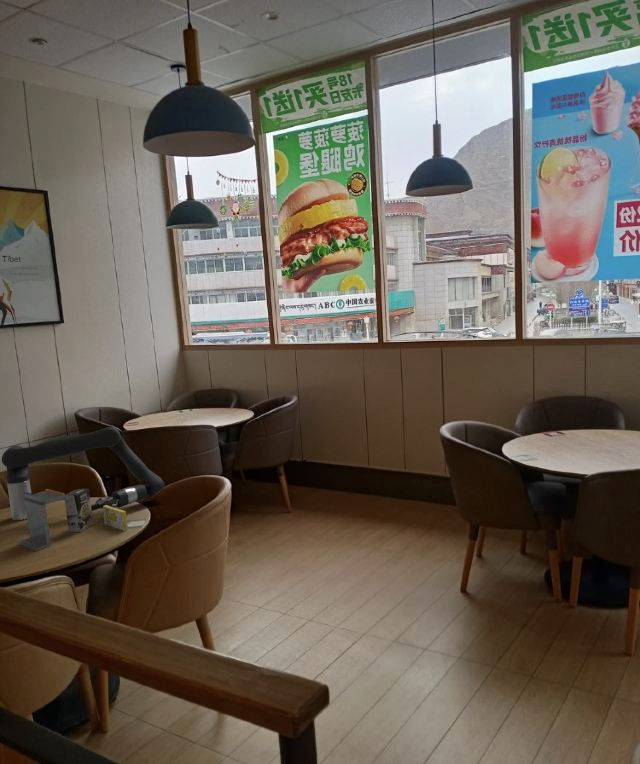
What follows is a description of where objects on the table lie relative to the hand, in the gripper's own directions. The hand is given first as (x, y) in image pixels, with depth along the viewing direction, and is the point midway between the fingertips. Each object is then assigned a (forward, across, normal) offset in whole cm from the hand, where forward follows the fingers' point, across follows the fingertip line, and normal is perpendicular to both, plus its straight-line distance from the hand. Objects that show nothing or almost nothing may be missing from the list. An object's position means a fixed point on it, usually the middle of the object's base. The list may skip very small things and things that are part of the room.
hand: (90, 508), depth 267 cm
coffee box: (+5, 0, +7) cm, 9 cm away
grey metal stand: (+21, 0, +7) cm, 23 cm away
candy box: (-3, +13, +7) cm, 15 cm away
